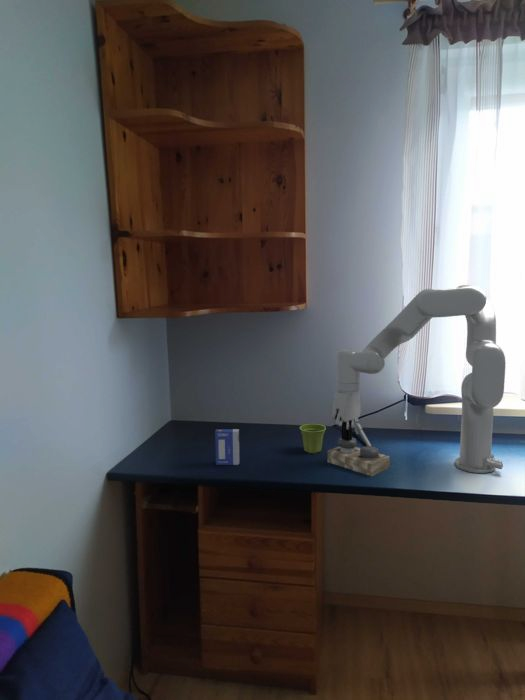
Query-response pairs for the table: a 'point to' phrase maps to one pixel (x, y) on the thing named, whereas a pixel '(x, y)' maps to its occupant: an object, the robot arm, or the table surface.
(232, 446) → the blue upright box
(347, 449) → the knob far
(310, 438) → the plant pot
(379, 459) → the mount
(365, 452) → the knob near
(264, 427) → the table surface
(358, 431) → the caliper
